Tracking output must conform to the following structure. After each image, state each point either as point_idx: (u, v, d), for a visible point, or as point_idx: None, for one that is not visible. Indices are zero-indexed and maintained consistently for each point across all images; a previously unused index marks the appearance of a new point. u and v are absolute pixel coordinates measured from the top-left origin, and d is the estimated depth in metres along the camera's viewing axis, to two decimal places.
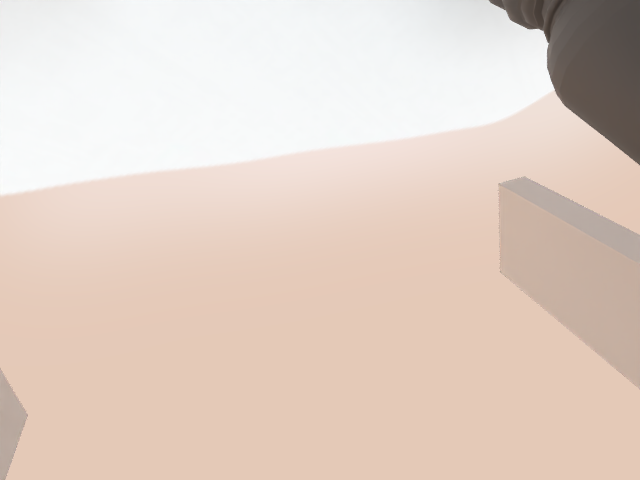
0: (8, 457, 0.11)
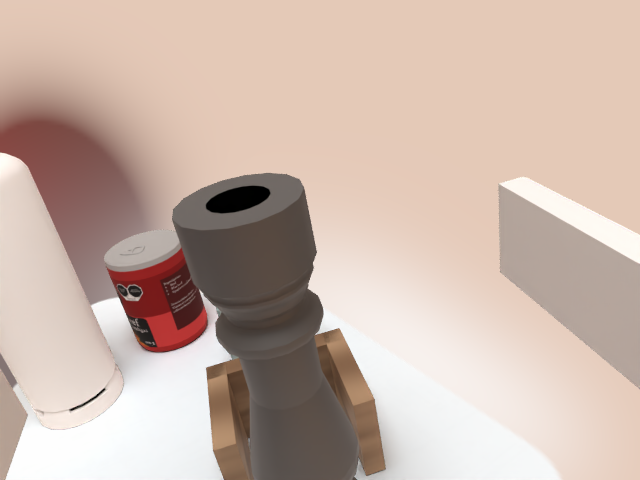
0: (8, 457, 0.11)
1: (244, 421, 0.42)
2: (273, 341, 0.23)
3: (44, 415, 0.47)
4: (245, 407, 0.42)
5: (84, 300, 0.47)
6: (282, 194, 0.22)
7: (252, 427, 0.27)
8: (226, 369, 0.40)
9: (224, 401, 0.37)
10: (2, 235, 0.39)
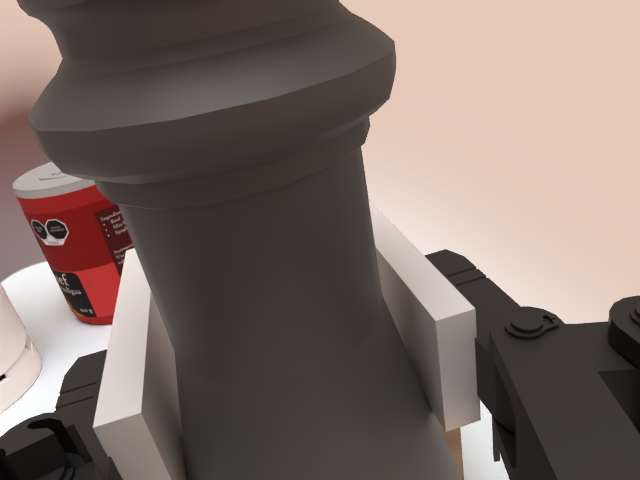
0: None
1: None
2: (216, 88, 0.05)
3: None
4: None
5: None
6: None
7: (184, 440, 0.10)
8: None
9: None
10: None
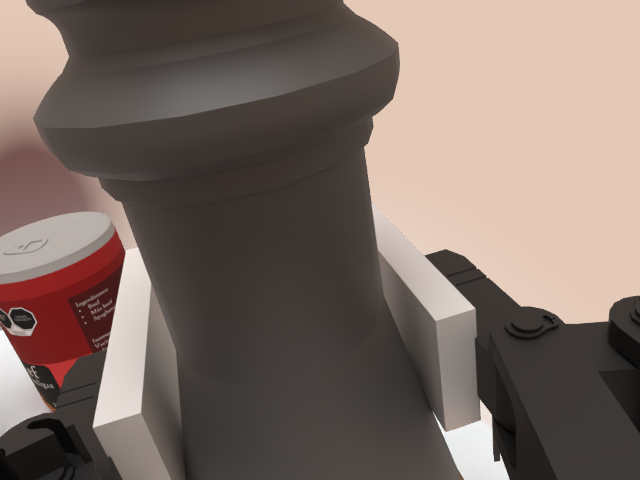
0: None
1: None
2: (222, 86, 0.05)
3: None
4: None
5: None
6: None
7: (185, 440, 0.10)
8: None
9: None
10: None
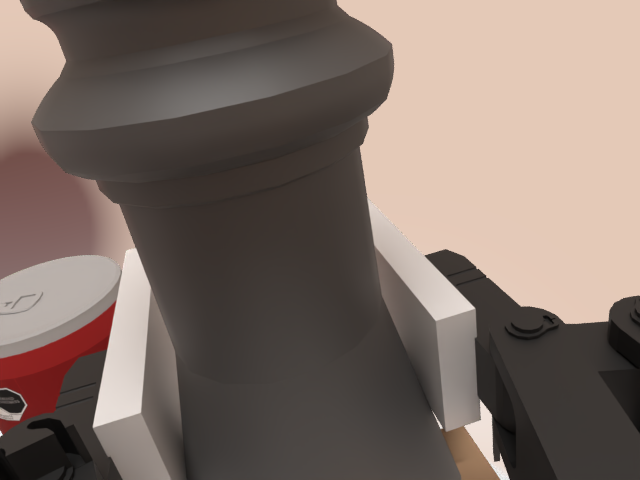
0: None
1: None
2: (216, 88, 0.06)
3: None
4: None
5: None
6: None
7: (185, 441, 0.10)
8: None
9: None
10: None
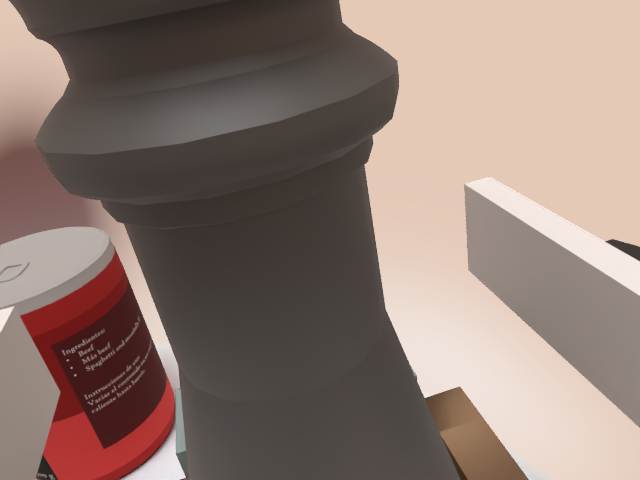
0: (45, 430, 0.12)
1: None
2: (222, 112, 0.05)
3: None
4: None
5: None
6: None
7: (188, 455, 0.10)
8: None
9: None
10: None
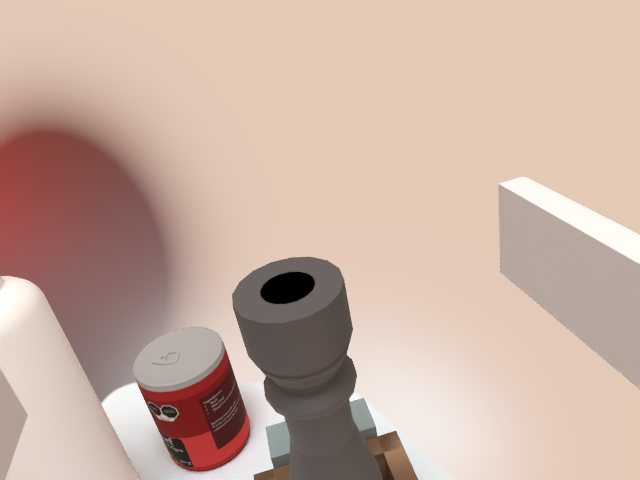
0: (8, 457, 0.11)
1: None
2: (315, 406, 0.27)
3: None
4: None
5: (111, 438, 0.39)
6: (325, 285, 0.25)
7: (292, 467, 0.31)
8: (275, 478, 0.38)
9: None
10: None
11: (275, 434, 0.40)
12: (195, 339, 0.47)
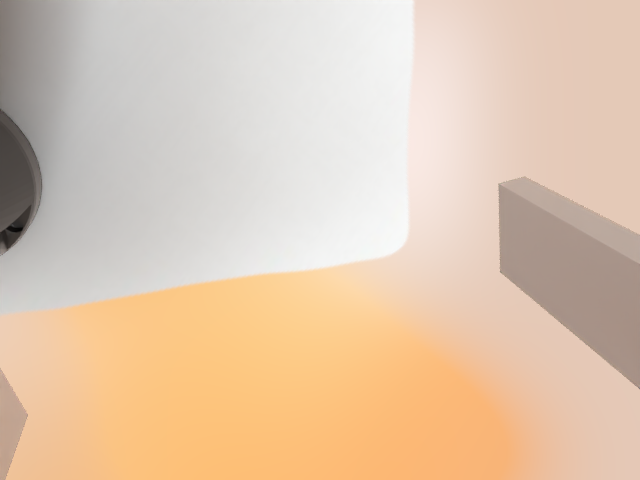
0: (8, 457, 0.11)
1: None
2: None
3: None
4: None
5: None
6: None
7: None
8: None
9: None
10: None
11: None
12: None
